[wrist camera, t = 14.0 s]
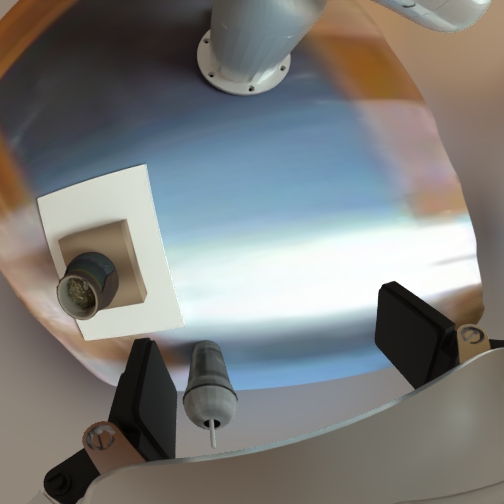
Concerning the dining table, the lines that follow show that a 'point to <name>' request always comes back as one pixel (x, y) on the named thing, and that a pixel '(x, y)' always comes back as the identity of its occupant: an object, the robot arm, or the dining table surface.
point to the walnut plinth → (117, 250)
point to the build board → (144, 241)
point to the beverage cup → (209, 390)
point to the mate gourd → (87, 285)
